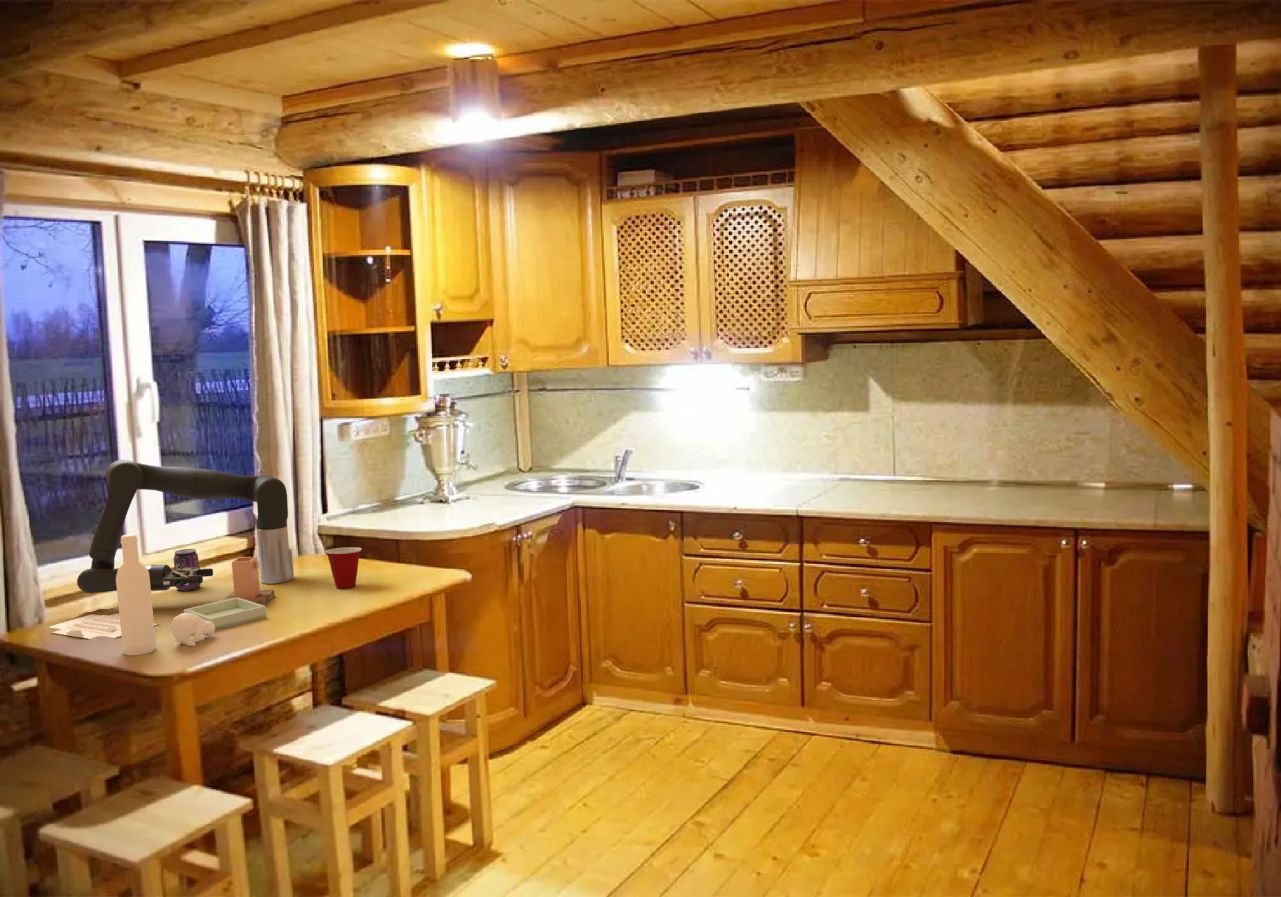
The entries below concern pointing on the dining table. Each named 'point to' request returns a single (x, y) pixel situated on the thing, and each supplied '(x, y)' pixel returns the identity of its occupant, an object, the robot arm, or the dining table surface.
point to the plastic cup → (344, 566)
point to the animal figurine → (191, 628)
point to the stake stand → (257, 597)
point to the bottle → (134, 601)
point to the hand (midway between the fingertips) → (207, 575)
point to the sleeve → (246, 577)
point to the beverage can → (186, 564)
